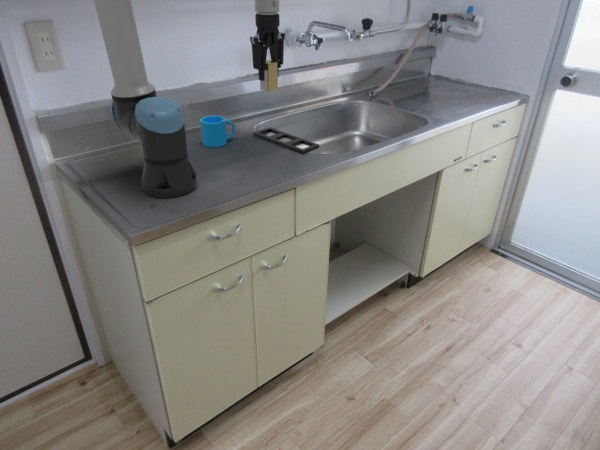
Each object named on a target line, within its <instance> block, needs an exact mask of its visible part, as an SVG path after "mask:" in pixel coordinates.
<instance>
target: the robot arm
mask: <svg viewBox="0 0 600 450" xmlns="http://www.w3.org/2000/svg"><path fill="white" fill-rule="evenodd" d="M93 3H94V8H95V10H96V15H97V19H98V23H99V27H100V31H101V35H102V39H103V43H104V47H105V50H106V54H107V59H108V63H109V67H110V71H111V74H112V79H113V82H114V85H113V88H112V89H111V90H110V95H111V99H112V102H111V104H110V110H109V111H110V115H111V118H112V121H113V123H115V125H116V126H117V127H118V128H119V130H120V131H122V132H123V133H125V134H127V135H129V136H130V137H131V138H134V139H135V140H137V141H138V142H140V145H141V152H142V156H143V157H142V158H143V163H144V164H143V168H142V173H141V178H140V179H141V180H140V185H141V189H142V192H143V193H144V194H145V195H147V196H149V197H153V198H157V199H158V198H159V199H160V198H161V199H172V198H177V197H181V196H184V195H187V194H190V193H192V192H193V191H195V189H196V188H197V187H198V184H199V181H198V176H197V172H196V170H195V169H194V167H193V165H192V163H191V160H190V158H189V152H188V145H187V144H188V143H187V134H186V127H185V115H184V113H183V108H182V107H181V105H180V103H178V102H177V101H175V100H174V99H171V98H167V97H166V98H165V97H161V96H157V90H156V87H155V85H154V84H153V83H151V82H150V81H149V80H148V76H147V71H146V67H145V61H144V57H143V51H142V47H141V43H140V38H139V33H138V27H137V23H136V17H135V14H134V9H133V3H132V0H93ZM254 12H255V15H254V19H255V26H256V28H257V29H256V34H255V35H254V36H250V37H249V40H250V41H249V42H250V44H251V53H252V57H251V58H252V67H253V69H254V70H258V71H257V72H258V80H259V84H260V86H259V87H260V88H259V89H260V90H261V91H264V92H268V89H267V71H266V70H265V66H266V60H267V56H268V49H269V55H270V60H271V61H275V62H277V81H278V79H279V76H280V74H279V71H280V70H279V69H281V68H282V65H283V64H284V54H285V53H284V50H285V49H284V46H285V45H284V43H285V38H286V33H285V32H281V31H280V30H279V27H280V19H281V18H280V14H279V12H280V0H254ZM278 82H279V81H278Z"/></svg>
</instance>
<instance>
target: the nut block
mask: <svg viewBox="0 0 600 450" xmlns="http://www.w3.org/2000/svg"><path fill="white" fill-rule="evenodd" d="M265 70H266V71H267V89H268V91H267V92H268V93H269V92H272V91H273V92H274V91H277V90H279V89H278V88H279V85H278V84H279V83H278V82H279V81H277V62H275V61H271V59H266V66H265Z"/></svg>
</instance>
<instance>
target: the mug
mask: <svg viewBox="0 0 600 450" xmlns="http://www.w3.org/2000/svg"><path fill="white" fill-rule="evenodd" d="M199 122H200V131H201V141H202V145H203V146H205V147H208V148H219V147H220V148H221V147H223V146H225V145H226V144H227V140H229V139H230V138H231V137H232V136H233V135H234V133H235V132H236V126H235V123H233V122H232V121H231V120H230V119H226V118H225V117H223V116H220V115H208V116H205V117H201V119H200V121H199ZM226 123H229V124H230V125H231V128H232V129H231V131H230V133H229V134H228V135H227V128H226V127H227V126H226Z"/></svg>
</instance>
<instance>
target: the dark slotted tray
mask: <svg viewBox="0 0 600 450" xmlns="http://www.w3.org/2000/svg"><path fill="white" fill-rule="evenodd" d="M268 133H272V134H273V135H269V136H268V135H267V134H268ZM253 137H256V138H258V139H261V140H264V141H266V142H269V143H271V144H275V145H277V146H279V147H282V148H284V149H288V150H290V151H293V152H294V153H295V152H296V153H298V154H300V155H305V154H308V153H310V152H312V151H315V150H317V149H318V150H319V148H320V144H319V143H316V142H313V141H310V140H308V139H305V138H302V137H299V136H296V135H293V134H291V133H288V132H284V131H282V130H279V129H276V128H273V127H266V128H263V129H260V130H257V131H254V132H253ZM284 138H285V139H288V140H289V141H287V142H285V141H282V140H283V139H284ZM300 145H305V146H307V147H305V148H301V147H298V146H300Z"/></svg>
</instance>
